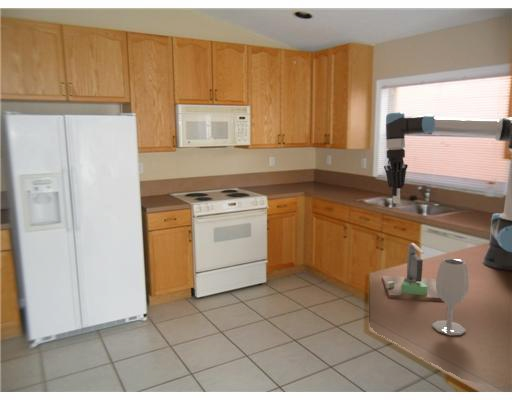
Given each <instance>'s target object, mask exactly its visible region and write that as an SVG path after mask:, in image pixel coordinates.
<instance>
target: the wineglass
mask: <svg viewBox="0 0 512 400" xmlns="http://www.w3.org/2000/svg"><path fill="white" fill-rule="evenodd" d="M440 262H441V263H440V264H439V266H438V271H437V274H436V277H435V278H436V280H435V282H436V289H437V294H438V296H439V297H440V298H441V299H442V300H443V301H444V302H443V301H442V302H443V303H445V305H447V313H446V320H436V321H435V322H433V323H432V324H431V326H432V327H433V329H435V330H436V331H437V332H439V333H441V334H445V335H447V336H450V337H451V336H462V335H463V334H464V333H466V332H467V329H466V328H465V327H464V326H462V325H461V324H460V323H457V322H455V321H453V313H454V312H453V310H454V307H456V305H458V304H460V303H461V302H463V301H464V300H465V299H466V296H467V294H468V292H469V286H470V285H469V284H470V282H469V281H470V280H469V278H470V277H469V271H468V270H469V269H468V267H467V266H468V265H467V263H466V262H465V261H463V260H461V259H459V258H458V259H457V258H444V259H441V261H440Z"/></svg>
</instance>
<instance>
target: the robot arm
mask: <svg viewBox="0 0 512 400" xmlns="http://www.w3.org/2000/svg"><path fill="white" fill-rule="evenodd" d="M385 119H386V120H385V135H386V136H385V138H386V149H387V150H386V159H388V161H387V164H386V165H384V166H383V168H384V170H385V176H386V181H387V185H388V188H390V189H392V191H391V192H392V193H391V195H392V203H393V204H401V194H402V193H401V189H403V187H404V186H405V182H406V174H407V169H408V167H409V165H408V164H406V163H405V161H404V158H405V157H406V155H405V154H406V150H405V149H404V148H406V143H405V142H406V137H405V135H436V136H437V135H439V136H457V137H469V138H470V137H473V138H489V139H490V138H491V139H495V140H496V141H499V142H500V141H502V142H508V147H507V148H508V149H507V150H509V151H510V153H511V154H512V117H499V118H498V119H487V118H485V119H484V118H481V119H480V118H463V117H461V118H459V117H458V118H457V117H435V115H434V114H423V115H421V114H420V115H415V116H414V115H413V116H405V113H404V112H402V111H399V112H389V113H387V114H386V116H385ZM508 173H509V174H508V180H507V186H506V195H505V200H504V206H503V207H504V208H503V212H501V213H493V214H492V216H491V219H490V222H491V223H490V234H489V243H488V248H487V250H486V251H485V254H484V255H483V264H484V265H485V266H487V267H489V268H493V269H498V270H504V271H512V156H511V158H510V165H509V171H508Z"/></svg>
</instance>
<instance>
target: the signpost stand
mask: <svg viewBox="0 0 512 400" xmlns="http://www.w3.org/2000/svg"><path fill="white" fill-rule="evenodd" d="M416 250H417V252H419V254H421V255H422V254H424V253H425V252H424V250H422V249H421V248H420V247H419V246H418V245H417V244H415V243H414V242H411V243H408V250H407V261H406V276H403V277H404V281H405V282H411V283H416V282H421V279H422V278H423V262H424V260H423V259H422V258H421V257H420V256H419V255H418V254H417V253H416Z"/></svg>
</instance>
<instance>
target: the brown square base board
mask: <svg viewBox="0 0 512 400" xmlns="http://www.w3.org/2000/svg"><path fill="white" fill-rule="evenodd" d="M404 277H405V276H392V275H391V276H390V275H382V280H383V283H384V286H385V290H386V293H387V296H388V298H389V299H397V300H398V299H400V300H413V301H430V302H431V301H432V302H443V300H442V299H441V298H440V297H439V296H438V294H437V289H436V280H435V279H434V278H429V277H428V278H426V277H422V279H421V282H416V283H424V284H425V285H426V286H427V287H428V288H427V295H417V294H407V293H401V287H402V283H403V281H404ZM390 281H394V282H395V285H394V287H393V288H389V289H388V288H386V282H390ZM404 282H405V281H404Z"/></svg>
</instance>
